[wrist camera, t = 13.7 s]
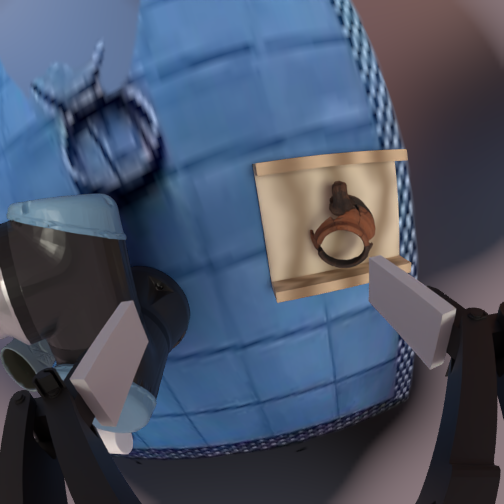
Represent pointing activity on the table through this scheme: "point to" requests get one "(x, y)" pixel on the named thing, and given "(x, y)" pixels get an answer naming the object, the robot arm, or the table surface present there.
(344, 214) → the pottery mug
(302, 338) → the table surface
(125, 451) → the white cylinder
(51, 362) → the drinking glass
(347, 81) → the table surface
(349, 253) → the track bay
